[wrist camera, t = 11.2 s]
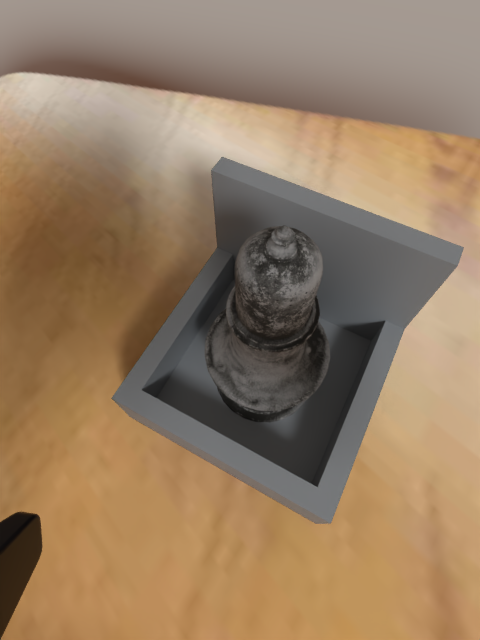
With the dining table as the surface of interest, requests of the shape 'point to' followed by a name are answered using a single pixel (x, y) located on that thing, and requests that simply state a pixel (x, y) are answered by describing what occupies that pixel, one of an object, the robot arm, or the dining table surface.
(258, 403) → the salt shaker
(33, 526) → the robot arm
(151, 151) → the dining table surface
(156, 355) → the shaker rack
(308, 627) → the dining table surface
